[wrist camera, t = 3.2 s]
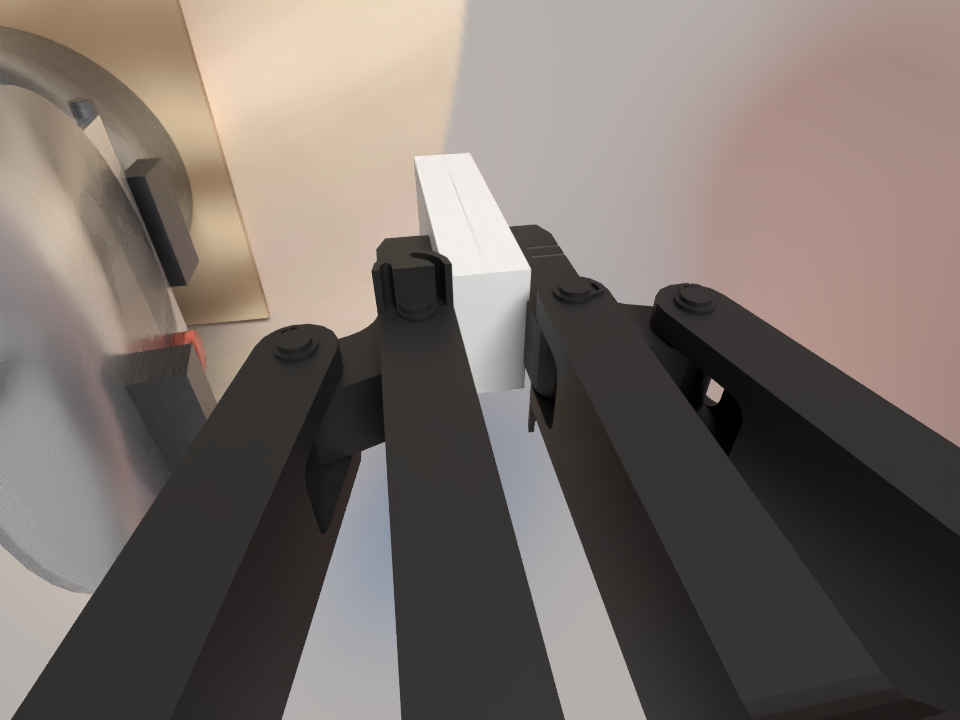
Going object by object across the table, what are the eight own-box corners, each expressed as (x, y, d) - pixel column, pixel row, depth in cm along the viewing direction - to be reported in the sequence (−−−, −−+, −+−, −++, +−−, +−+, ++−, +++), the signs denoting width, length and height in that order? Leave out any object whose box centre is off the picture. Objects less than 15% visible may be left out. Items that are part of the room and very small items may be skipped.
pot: (-284, -64, 21) (-598, -68, 14) (139, -65, 23) (45, -67, 16) (30, 389, 36) (-49, 497, 29) (271, 364, 38) (252, 458, 31)
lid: (-320, 213, 7) (-68, 189, 7) (46, 43, 18) (132, 39, 19) (140, 688, 15) (235, 659, 16) (190, 374, 27) (245, 363, 27)
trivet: (-314, -61, 22) (-330, -61, 21) (161, -61, 24) (157, -61, 24) (-25, 340, 34) (-30, 345, 33) (269, 312, 36) (268, 317, 36)
